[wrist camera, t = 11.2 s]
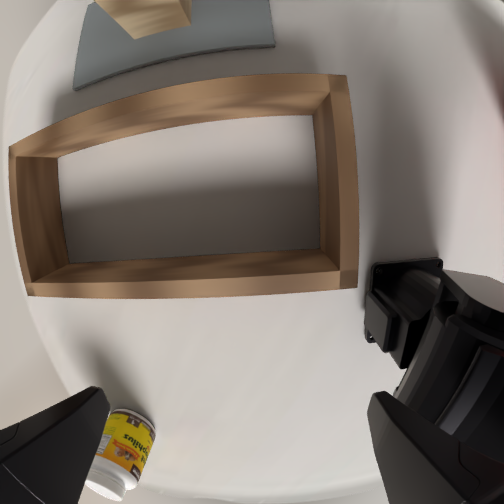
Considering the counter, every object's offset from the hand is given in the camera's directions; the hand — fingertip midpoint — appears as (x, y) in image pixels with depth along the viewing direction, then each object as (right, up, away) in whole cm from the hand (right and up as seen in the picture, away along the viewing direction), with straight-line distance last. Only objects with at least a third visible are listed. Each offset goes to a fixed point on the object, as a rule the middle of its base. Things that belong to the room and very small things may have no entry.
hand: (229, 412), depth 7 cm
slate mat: (-6, +23, +7) cm, 25 cm away
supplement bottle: (-12, -14, +16) cm, 25 cm away
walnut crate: (-5, +9, +10) cm, 14 cm away
